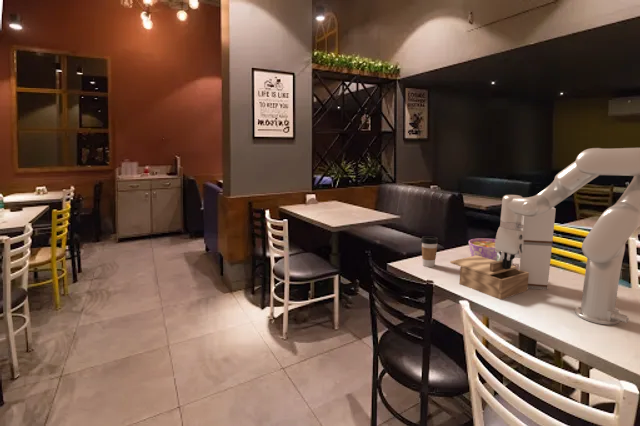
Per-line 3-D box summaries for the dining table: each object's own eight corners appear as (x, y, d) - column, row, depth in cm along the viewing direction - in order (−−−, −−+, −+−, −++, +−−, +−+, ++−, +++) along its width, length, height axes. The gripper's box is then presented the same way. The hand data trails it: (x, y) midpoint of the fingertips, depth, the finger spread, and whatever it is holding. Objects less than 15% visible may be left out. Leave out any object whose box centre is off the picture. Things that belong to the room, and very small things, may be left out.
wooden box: (527, 290, 156) (528, 272, 154) (500, 299, 147) (502, 280, 146) (485, 276, 173) (486, 260, 171) (459, 283, 164) (460, 266, 163)
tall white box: (539, 281, 167) (547, 204, 161) (547, 289, 157) (555, 208, 150) (512, 278, 170) (518, 203, 164) (517, 287, 160) (524, 207, 153)
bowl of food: (468, 268, 184) (470, 246, 182) (465, 257, 203) (466, 237, 201) (513, 272, 178) (515, 249, 176) (505, 260, 197) (507, 239, 195)
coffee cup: (416, 264, 192) (417, 236, 190) (429, 262, 196) (430, 234, 193) (427, 268, 185) (428, 239, 182) (440, 266, 188) (442, 237, 186)
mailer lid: (516, 268, 159) (517, 258, 158) (489, 275, 150) (490, 265, 150) (476, 256, 176) (477, 248, 175) (450, 262, 167) (450, 253, 167)
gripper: (534, 227, 145) (529, 272, 149) (499, 221, 158) (495, 262, 161) (522, 230, 142) (518, 275, 145) (488, 223, 154) (484, 265, 158)
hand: (506, 268), depth 153 cm, fingers closed
